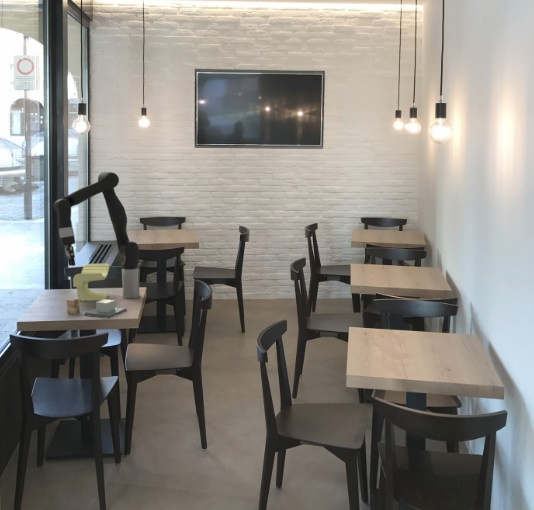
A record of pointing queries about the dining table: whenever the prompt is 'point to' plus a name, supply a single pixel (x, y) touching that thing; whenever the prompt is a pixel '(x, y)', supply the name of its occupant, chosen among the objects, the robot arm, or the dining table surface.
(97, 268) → the slatted curved stool
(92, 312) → the tower board
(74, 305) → the oak block
